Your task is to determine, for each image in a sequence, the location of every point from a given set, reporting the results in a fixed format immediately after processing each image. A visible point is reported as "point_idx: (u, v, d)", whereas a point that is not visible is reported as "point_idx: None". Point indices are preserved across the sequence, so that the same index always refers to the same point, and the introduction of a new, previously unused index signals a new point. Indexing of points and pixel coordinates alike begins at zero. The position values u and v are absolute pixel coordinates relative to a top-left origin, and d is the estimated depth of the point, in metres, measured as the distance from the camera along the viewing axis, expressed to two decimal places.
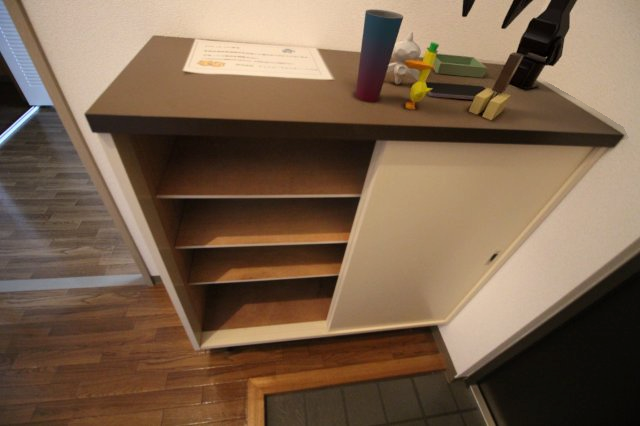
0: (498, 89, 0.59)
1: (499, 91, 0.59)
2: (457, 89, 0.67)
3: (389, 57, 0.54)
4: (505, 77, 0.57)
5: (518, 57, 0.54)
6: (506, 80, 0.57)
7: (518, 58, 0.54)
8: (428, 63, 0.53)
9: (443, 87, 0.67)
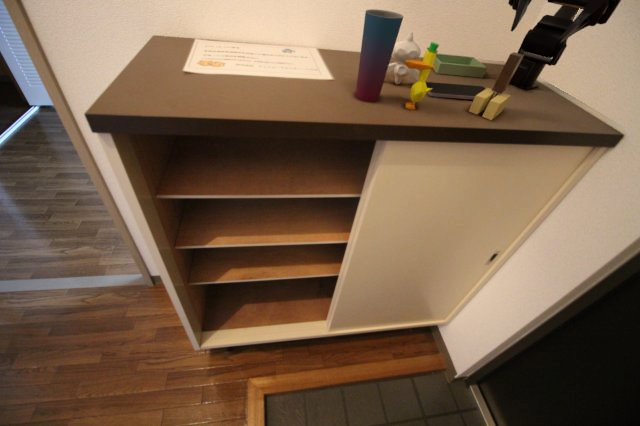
0: (498, 89, 0.59)
1: (499, 91, 0.59)
2: (457, 89, 0.67)
3: (389, 57, 0.54)
4: (505, 77, 0.57)
5: (518, 57, 0.54)
6: (506, 80, 0.57)
7: (518, 58, 0.54)
8: (428, 63, 0.53)
9: (443, 87, 0.67)
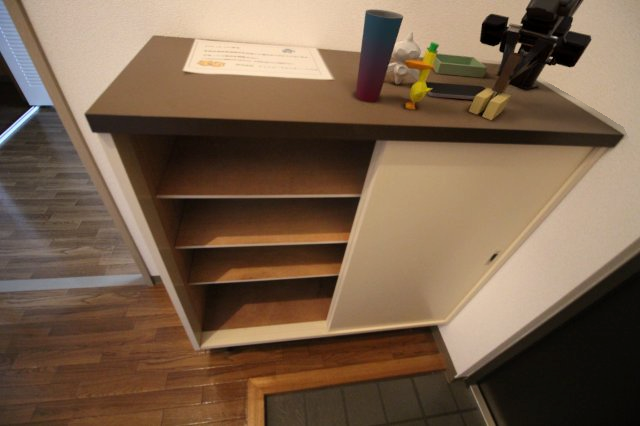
0: (498, 89, 0.59)
1: (499, 91, 0.59)
2: (457, 89, 0.67)
3: (389, 57, 0.54)
4: (505, 77, 0.57)
5: (518, 57, 0.54)
6: (506, 80, 0.57)
7: (518, 58, 0.54)
8: (428, 63, 0.53)
9: (443, 87, 0.67)
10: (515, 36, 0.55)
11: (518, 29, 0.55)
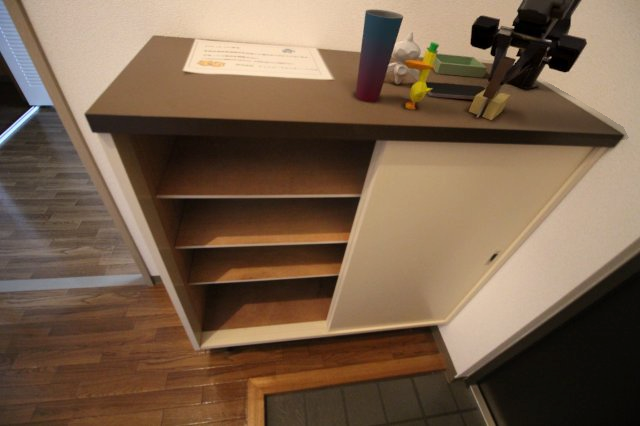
0: (489, 95, 0.56)
1: (490, 97, 0.56)
2: (457, 89, 0.67)
3: (389, 57, 0.54)
4: (496, 82, 0.54)
5: (509, 61, 0.51)
6: (497, 86, 0.54)
7: (509, 63, 0.51)
8: (428, 63, 0.53)
9: (443, 87, 0.67)
10: (506, 39, 0.52)
11: (510, 32, 0.52)
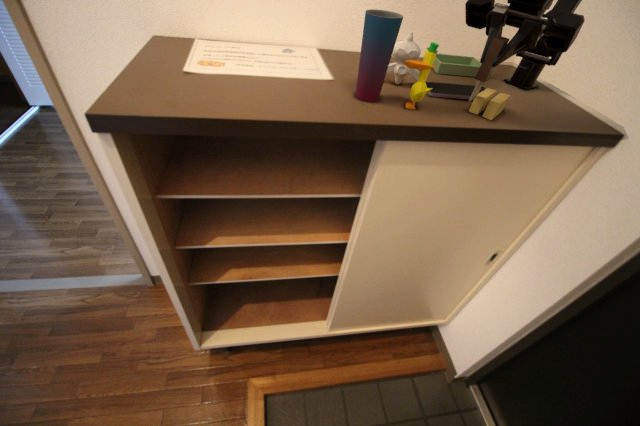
0: (481, 77, 0.54)
1: (482, 80, 0.54)
2: (457, 89, 0.67)
3: (389, 57, 0.54)
4: (488, 64, 0.52)
5: (502, 41, 0.49)
6: (489, 67, 0.52)
7: (502, 42, 0.49)
8: (428, 63, 0.53)
9: (443, 87, 0.67)
10: (500, 17, 0.49)
11: (504, 9, 0.50)
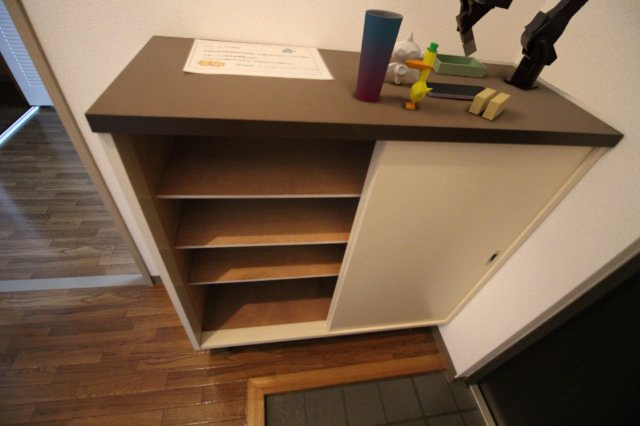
0: (463, 41, 0.74)
1: (464, 43, 0.74)
2: (457, 89, 0.67)
3: (389, 57, 0.54)
4: None
5: (458, 19, 0.70)
6: (462, 35, 0.73)
7: (458, 19, 0.70)
8: (428, 63, 0.53)
9: (443, 87, 0.67)
10: None
11: None
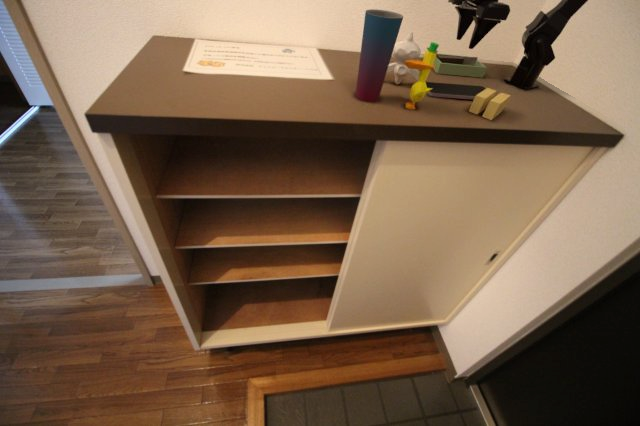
0: None
1: None
2: (457, 89, 0.67)
3: (389, 57, 0.54)
4: None
5: None
6: None
7: None
8: (428, 63, 0.53)
9: (443, 87, 0.67)
10: (458, 10, 0.75)
11: (462, 2, 0.74)
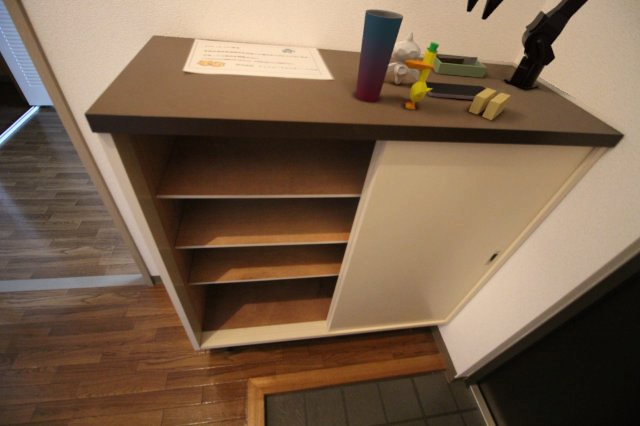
0: None
1: None
2: (457, 89, 0.67)
3: (389, 57, 0.54)
4: None
5: None
6: None
7: None
8: (428, 63, 0.53)
9: (443, 87, 0.67)
10: None
11: None
